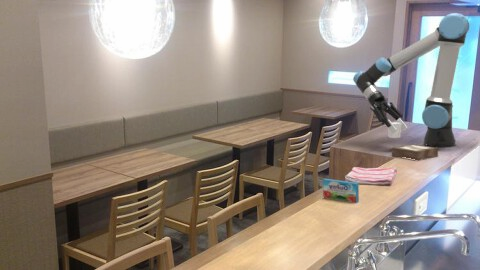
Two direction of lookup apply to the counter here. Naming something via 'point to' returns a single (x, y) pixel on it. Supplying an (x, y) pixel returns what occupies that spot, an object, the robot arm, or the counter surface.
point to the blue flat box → (341, 190)
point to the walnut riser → (415, 152)
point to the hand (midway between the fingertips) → (400, 130)
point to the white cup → (397, 133)
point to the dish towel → (372, 176)
